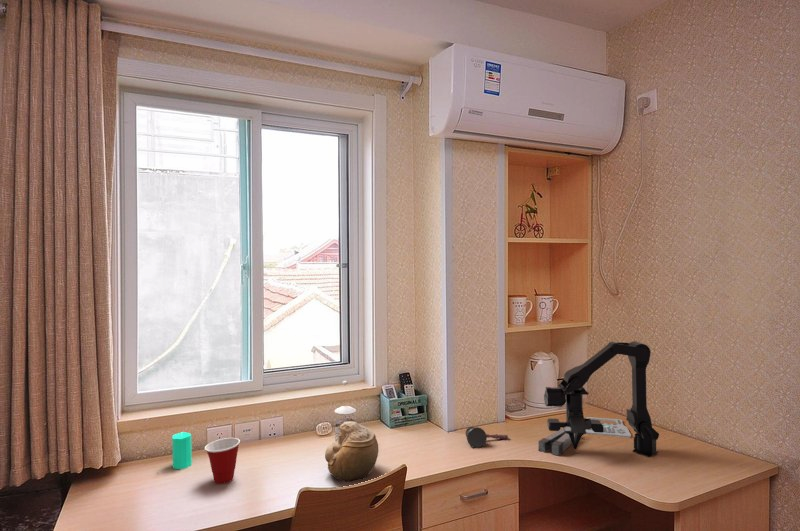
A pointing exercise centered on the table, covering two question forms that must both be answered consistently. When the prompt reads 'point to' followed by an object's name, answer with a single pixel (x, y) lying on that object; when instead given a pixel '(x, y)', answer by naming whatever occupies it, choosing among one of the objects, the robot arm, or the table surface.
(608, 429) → the office telephone
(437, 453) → the table surface
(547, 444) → the tongs fixed
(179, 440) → the candle
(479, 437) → the black mallet
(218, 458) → the plastic cup
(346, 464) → the buddha statue
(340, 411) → the french press
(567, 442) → the bar
